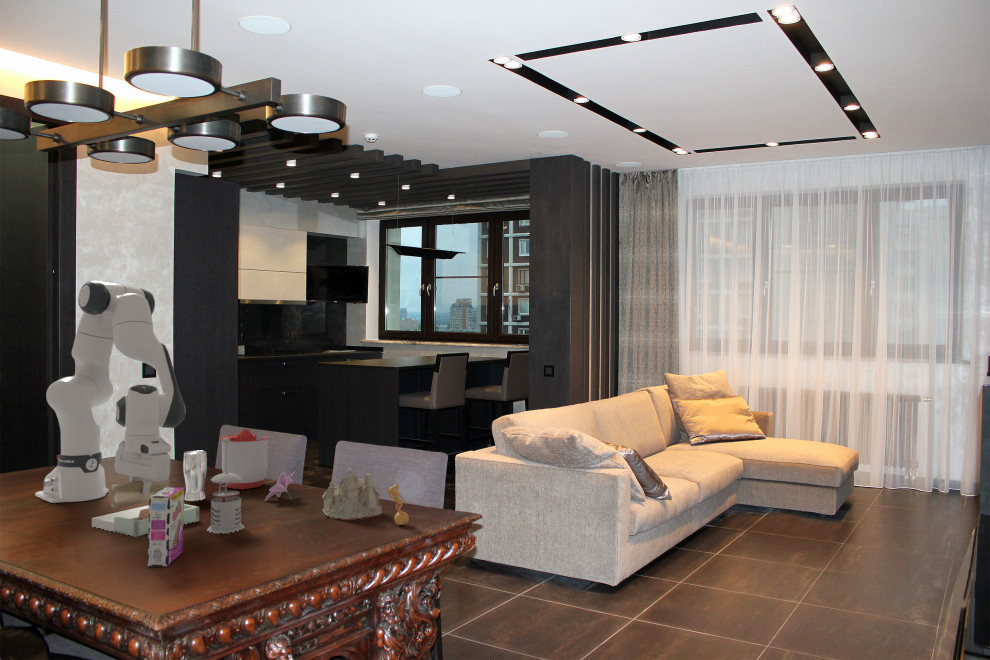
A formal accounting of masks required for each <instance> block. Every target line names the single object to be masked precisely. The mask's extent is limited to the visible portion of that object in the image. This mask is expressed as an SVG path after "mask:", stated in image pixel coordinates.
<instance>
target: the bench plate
mask: <svg viewBox="0 0 990 660" xmlns="http://www.w3.org/2000/svg"><path fill="white" fill-rule="evenodd" d="M148 508H149V504H148V505H142V506H139V507H136V508H135V507H134V508H129V509H125V510H121V511H117V512H113V513H108V514H104V515H99V516H96V517H92V518H91V528H94V527H96V528H95V529H98V528H101V529H100V530H102V529H104V530H103V531H107V530H108V532H111V531H113V532H112V533H115V532H114V520H115V517H122V518H126V519H131V520H135V521H138V520H142V519H141V518H140V517H139V513H140V510H143V509H148Z"/></svg>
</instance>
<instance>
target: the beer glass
mask: <svg viewBox="0 0 990 660" xmlns="http://www.w3.org/2000/svg"><path fill="white" fill-rule="evenodd" d="M207 461H208V459H207V451H205V450H189V451H184V453H183V466H182V467H183V475H184V477H183V478H184V483H185V493H184V501H185V500H186V502H198V501H199V500H200V501H203V499H204V500H205V499H206V494H205V490H204V489H205V487H204V486H205V481H206V476H207V470H208V466H207V465H208V463H207Z"/></svg>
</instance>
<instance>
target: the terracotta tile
mask: <svg viewBox="0 0 990 660" xmlns="http://www.w3.org/2000/svg"><path fill="white" fill-rule="evenodd" d="M139 517H140V518H141V519H147V518H149V508H148V509H143V510H140V513H139Z"/></svg>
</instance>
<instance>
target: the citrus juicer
mask: <svg viewBox="0 0 990 660" xmlns="http://www.w3.org/2000/svg"><path fill="white" fill-rule="evenodd" d="M224 438H229V439H230V442H227V472H228V473H233V474H236V475H238V476H240V477H241V478H242V479H241V481H239V482H235V483H228V485H227V488H229V489H235V490H237V489H239V490H240V489H241V491H244V489H246V490H247V489H253V488H260V487H262V485H263V483H264V482H265V478H266V474H267V471H268V462H269V461H268V460H269V459H268V458H269V450H270V445H269V440H268V439H269V435H266V436H264V437H263V438H262V439H257V434H254V433H252V432H251V431H250V430H249V429H247V428H243V429H242V430H241V431H240V432H239V433H238V434H234V435H233V434H231V435H226V436H223V437H221V438H220V439H221V470H222V473H225V472H226V443H224V442H223V440H224Z"/></svg>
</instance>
